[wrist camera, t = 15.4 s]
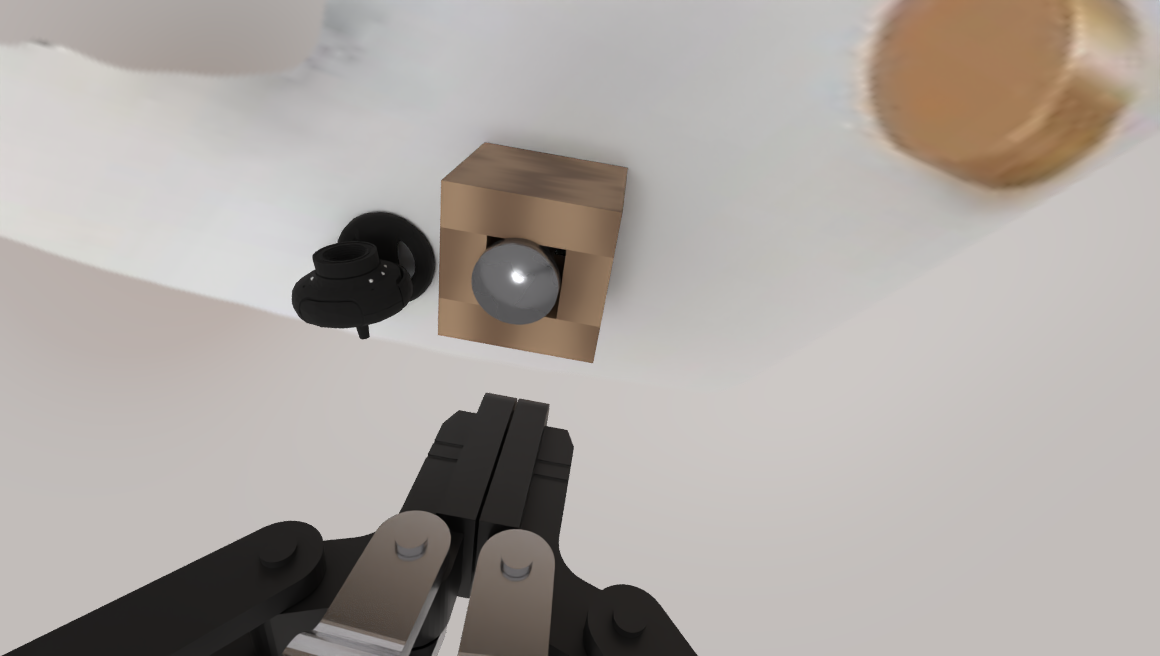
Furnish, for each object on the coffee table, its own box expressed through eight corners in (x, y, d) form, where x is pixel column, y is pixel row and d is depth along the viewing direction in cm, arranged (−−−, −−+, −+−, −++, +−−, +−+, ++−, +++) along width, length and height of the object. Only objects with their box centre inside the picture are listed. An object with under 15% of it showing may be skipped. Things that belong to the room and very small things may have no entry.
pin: (582, 198, 39) (563, 255, 31) (571, 262, 42) (551, 331, 33) (512, 185, 40) (474, 237, 31) (506, 250, 42) (468, 316, 33)
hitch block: (627, 167, 39) (622, 212, 30) (603, 295, 44) (592, 363, 36) (484, 142, 39) (441, 180, 31) (476, 272, 44) (437, 334, 36)
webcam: (431, 211, 42) (375, 266, 33) (443, 300, 45) (396, 370, 37) (331, 208, 42) (250, 261, 34) (351, 296, 46) (284, 364, 38)
